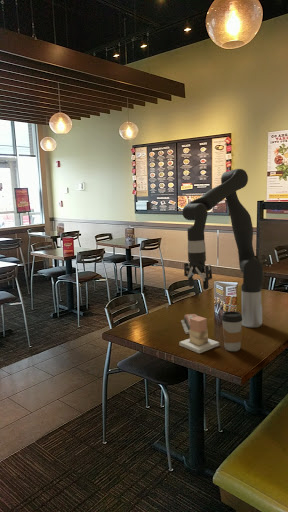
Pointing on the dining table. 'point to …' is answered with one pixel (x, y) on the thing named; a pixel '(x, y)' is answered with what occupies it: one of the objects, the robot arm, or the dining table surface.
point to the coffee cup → (232, 330)
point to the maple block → (198, 337)
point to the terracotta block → (198, 324)
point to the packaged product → (187, 322)
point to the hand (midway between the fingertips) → (198, 287)
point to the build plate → (199, 348)
